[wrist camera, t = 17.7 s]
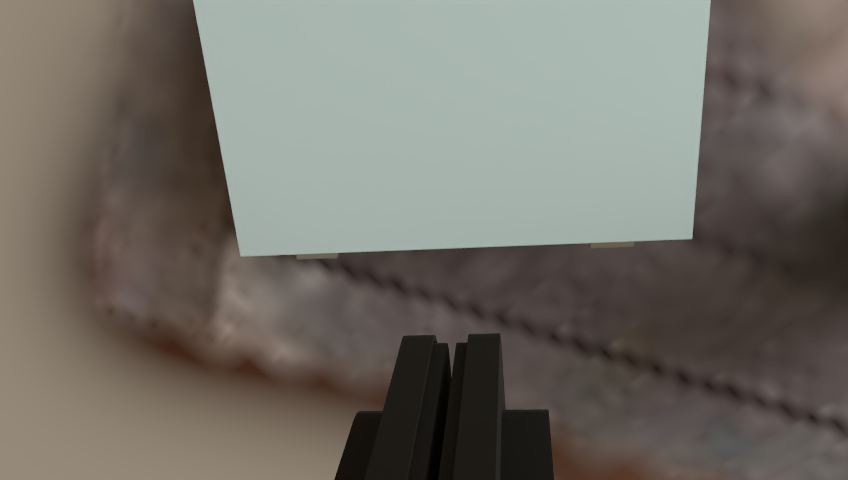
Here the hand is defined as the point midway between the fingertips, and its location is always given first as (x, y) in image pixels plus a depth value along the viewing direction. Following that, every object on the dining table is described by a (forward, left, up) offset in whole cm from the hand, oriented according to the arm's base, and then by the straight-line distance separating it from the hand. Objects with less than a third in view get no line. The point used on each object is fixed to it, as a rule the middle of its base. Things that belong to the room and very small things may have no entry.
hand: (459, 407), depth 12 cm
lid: (+1, 0, -20) cm, 20 cm away
